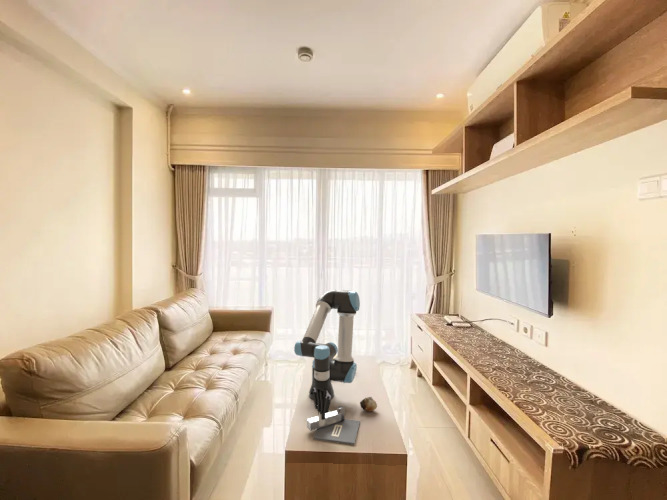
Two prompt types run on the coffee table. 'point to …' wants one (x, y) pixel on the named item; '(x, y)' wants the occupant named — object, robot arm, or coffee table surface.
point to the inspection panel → (339, 432)
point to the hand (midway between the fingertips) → (321, 424)
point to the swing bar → (327, 418)
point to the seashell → (368, 404)
